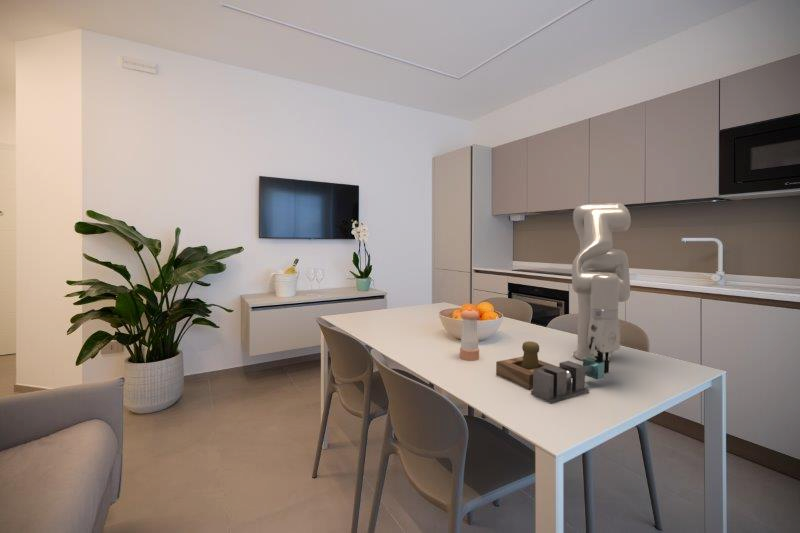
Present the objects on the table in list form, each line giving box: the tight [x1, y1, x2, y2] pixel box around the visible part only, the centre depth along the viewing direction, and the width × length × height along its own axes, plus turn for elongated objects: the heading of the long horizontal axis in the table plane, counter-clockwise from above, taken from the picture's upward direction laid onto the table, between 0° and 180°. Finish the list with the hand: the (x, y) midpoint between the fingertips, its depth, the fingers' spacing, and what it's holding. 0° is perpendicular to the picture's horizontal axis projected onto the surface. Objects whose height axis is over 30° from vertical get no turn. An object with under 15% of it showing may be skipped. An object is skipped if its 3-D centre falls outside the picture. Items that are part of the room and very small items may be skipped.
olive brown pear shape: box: [521, 340, 540, 370], centre depth 115 cm, size 6×6×11 cm
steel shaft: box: [567, 358, 605, 381], centre depth 107 cm, size 17×5×5 cm, turn 118°
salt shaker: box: [459, 307, 480, 361], centre depth 137 cm, size 7×7×19 cm
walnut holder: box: [495, 356, 559, 391], centre depth 116 cm, size 14×14×4 cm
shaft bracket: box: [530, 360, 590, 405], centre depth 104 cm, size 16×7×8 cm, turn 118°
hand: (602, 371), depth 112 cm, fingers closed
